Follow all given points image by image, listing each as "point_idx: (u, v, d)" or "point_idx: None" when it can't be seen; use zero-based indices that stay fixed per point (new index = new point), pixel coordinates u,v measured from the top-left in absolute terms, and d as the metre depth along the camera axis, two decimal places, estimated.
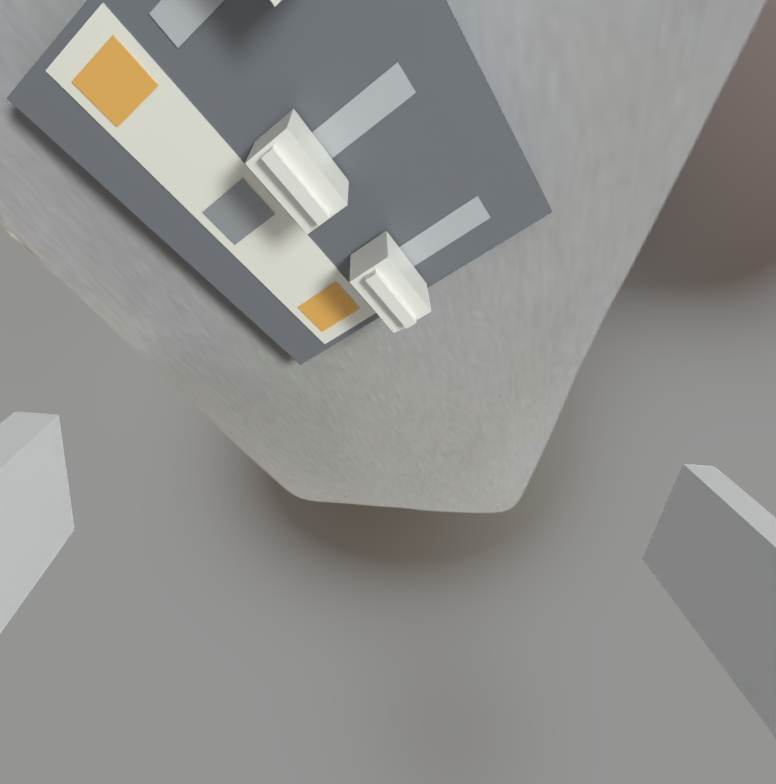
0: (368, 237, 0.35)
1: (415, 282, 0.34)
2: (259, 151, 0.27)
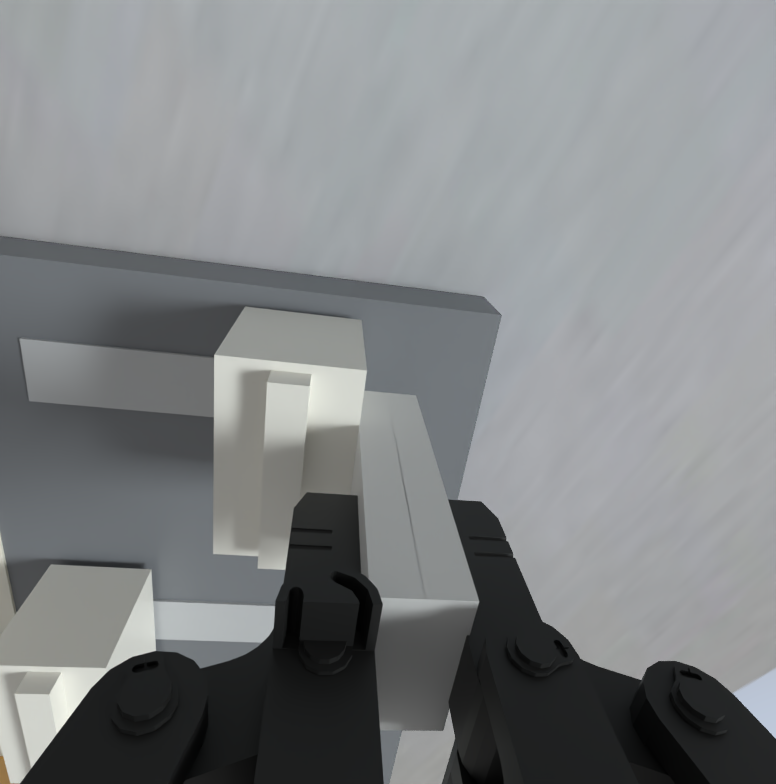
0: None
1: None
2: (25, 664, 0.13)
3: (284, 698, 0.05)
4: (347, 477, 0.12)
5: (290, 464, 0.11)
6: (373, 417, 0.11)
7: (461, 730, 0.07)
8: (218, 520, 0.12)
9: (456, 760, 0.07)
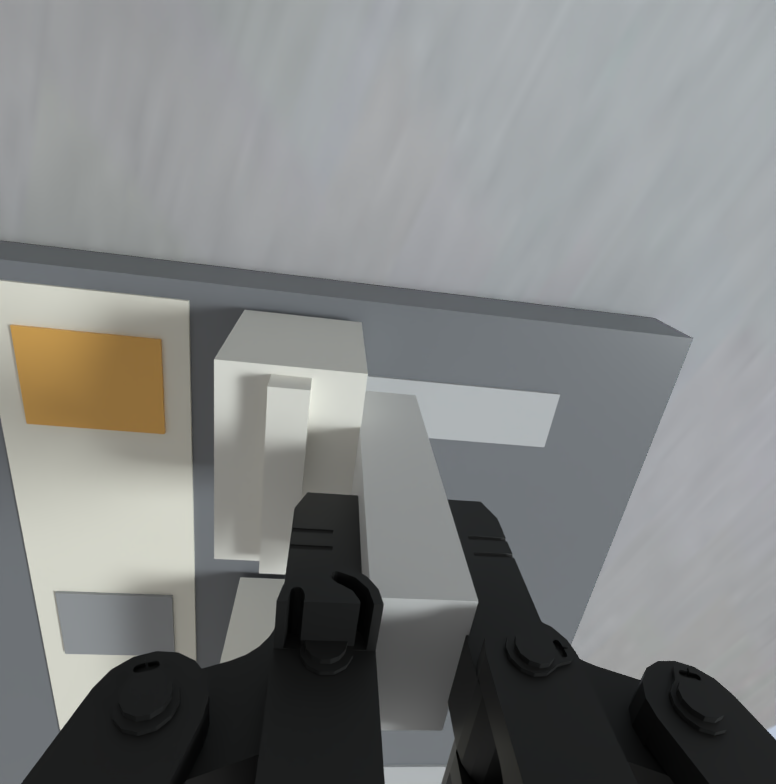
0: None
1: None
2: None
3: (285, 698, 0.05)
4: (348, 481, 0.11)
5: (291, 469, 0.10)
6: (373, 416, 0.11)
7: (460, 730, 0.07)
8: (219, 525, 0.12)
9: (455, 760, 0.07)
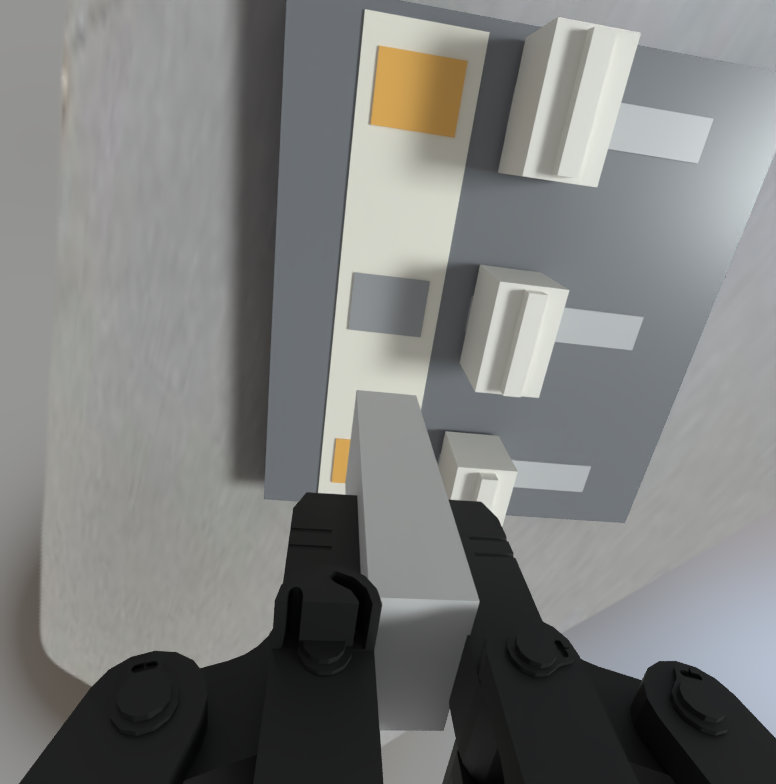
0: (473, 428, 0.28)
1: None
2: (524, 284, 0.21)
3: (283, 698, 0.05)
4: (613, 117, 0.19)
5: (593, 90, 0.18)
6: (373, 416, 0.11)
7: (461, 730, 0.07)
8: (531, 148, 0.19)
9: (456, 760, 0.07)
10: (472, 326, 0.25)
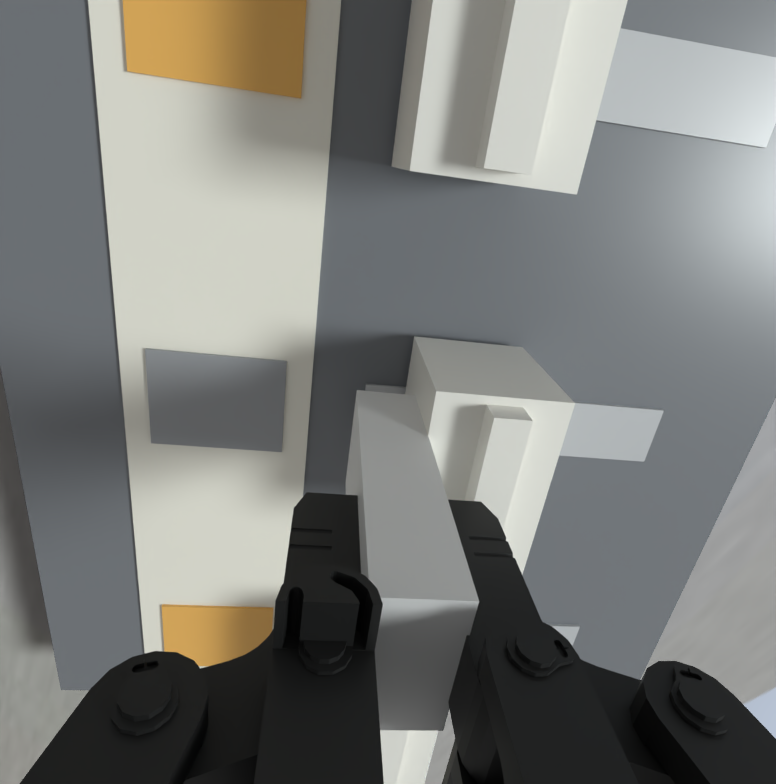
0: None
1: None
2: (485, 395, 0.11)
3: (284, 698, 0.05)
4: (611, 33, 0.08)
5: None
6: (373, 416, 0.11)
7: (461, 730, 0.07)
8: (425, 106, 0.08)
9: (456, 760, 0.07)
10: None
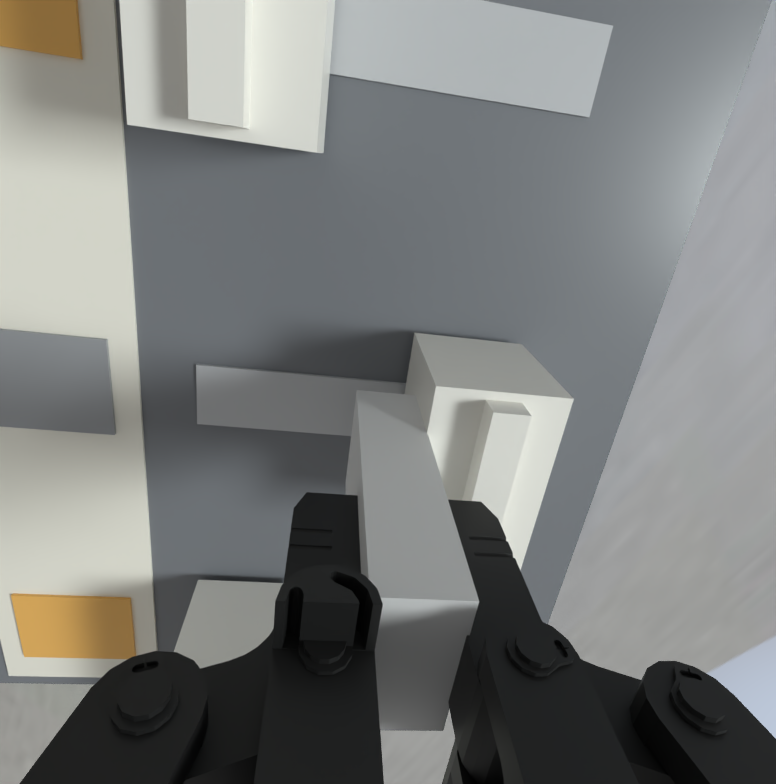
0: (251, 570, 0.17)
1: None
2: (484, 390, 0.11)
3: (284, 698, 0.05)
4: None
5: None
6: (373, 416, 0.11)
7: (461, 730, 0.07)
8: (130, 54, 0.08)
9: (456, 760, 0.07)
10: None
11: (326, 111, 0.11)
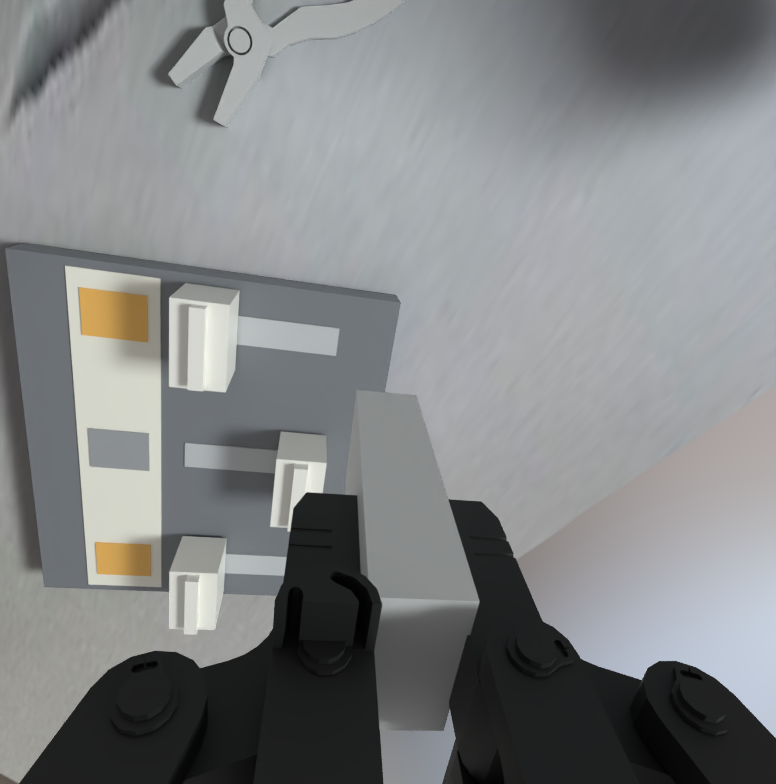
0: (207, 532, 0.37)
1: (219, 595, 0.36)
2: (294, 460, 0.31)
3: (283, 698, 0.05)
4: (225, 351, 0.28)
5: (199, 341, 0.27)
6: (373, 417, 0.11)
7: (461, 730, 0.07)
8: (171, 370, 0.28)
9: (456, 760, 0.07)
10: None
11: (235, 357, 0.31)
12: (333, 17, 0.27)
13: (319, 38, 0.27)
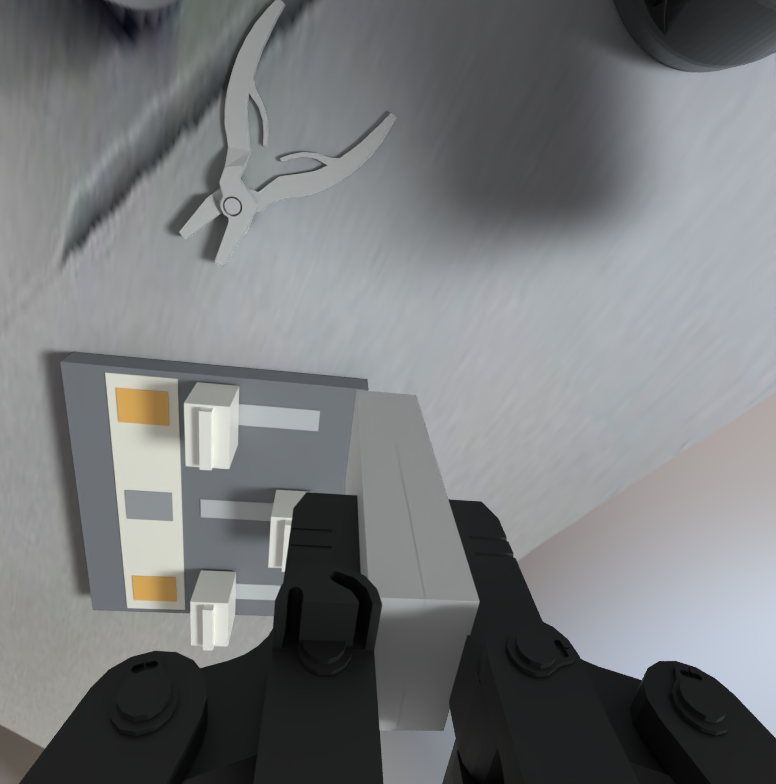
0: (220, 567, 0.45)
1: (230, 618, 0.45)
2: (285, 517, 0.39)
3: (284, 698, 0.05)
4: (227, 440, 0.36)
5: (207, 435, 0.35)
6: (373, 416, 0.11)
7: (461, 730, 0.07)
8: (187, 454, 0.36)
9: (456, 760, 0.07)
10: None
11: (237, 435, 0.40)
12: (304, 182, 0.34)
13: (294, 196, 0.35)
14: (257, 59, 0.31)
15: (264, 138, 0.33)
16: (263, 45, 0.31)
